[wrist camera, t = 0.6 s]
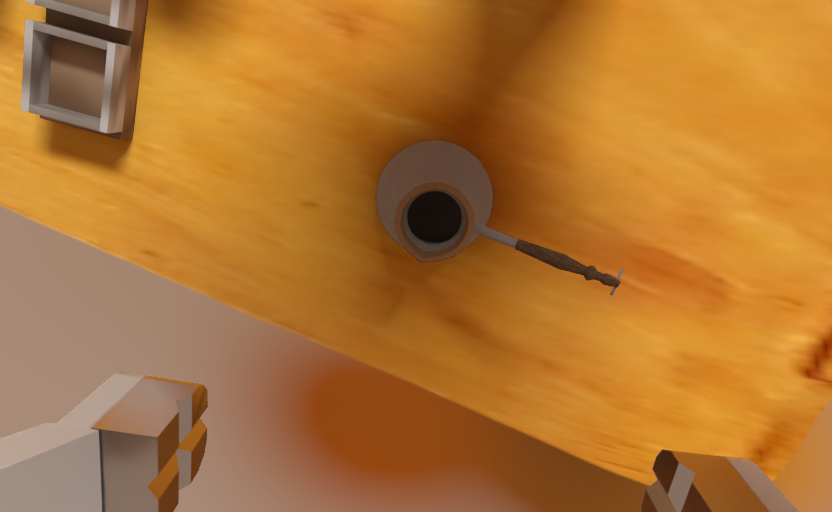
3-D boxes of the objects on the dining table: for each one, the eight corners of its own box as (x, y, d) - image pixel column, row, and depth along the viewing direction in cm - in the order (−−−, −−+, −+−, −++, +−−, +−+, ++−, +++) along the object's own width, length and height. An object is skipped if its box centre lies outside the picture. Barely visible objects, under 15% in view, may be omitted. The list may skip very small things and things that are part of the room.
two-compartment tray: (68, -93, 48) (32, -112, 43) (155, -67, 48) (128, -83, 44) (54, 116, 53) (20, 118, 49) (132, 138, 53) (106, 141, 49)
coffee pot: (365, 230, 55) (342, 276, 41) (396, 123, 52) (382, 132, 38) (556, 288, 57) (597, 352, 42) (597, 186, 53) (658, 219, 39)
